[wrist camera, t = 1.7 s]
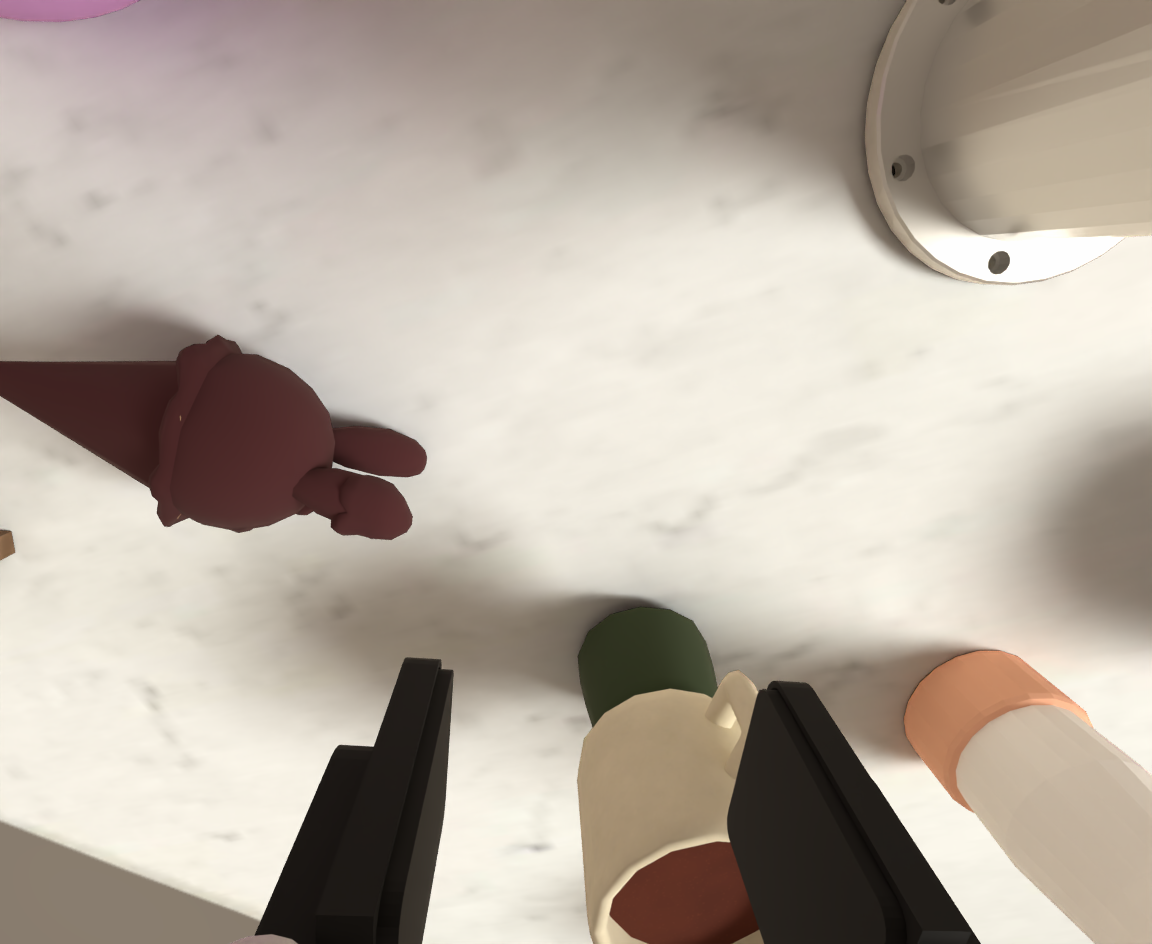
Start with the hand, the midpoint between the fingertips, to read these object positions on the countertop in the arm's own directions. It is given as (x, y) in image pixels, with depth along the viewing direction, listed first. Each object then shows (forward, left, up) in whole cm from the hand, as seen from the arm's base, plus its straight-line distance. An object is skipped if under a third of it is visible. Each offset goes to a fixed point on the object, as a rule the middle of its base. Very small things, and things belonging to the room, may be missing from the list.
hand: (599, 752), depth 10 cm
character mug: (+10, +5, -18) cm, 21 cm away
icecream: (0, -13, -18) cm, 22 cm away
